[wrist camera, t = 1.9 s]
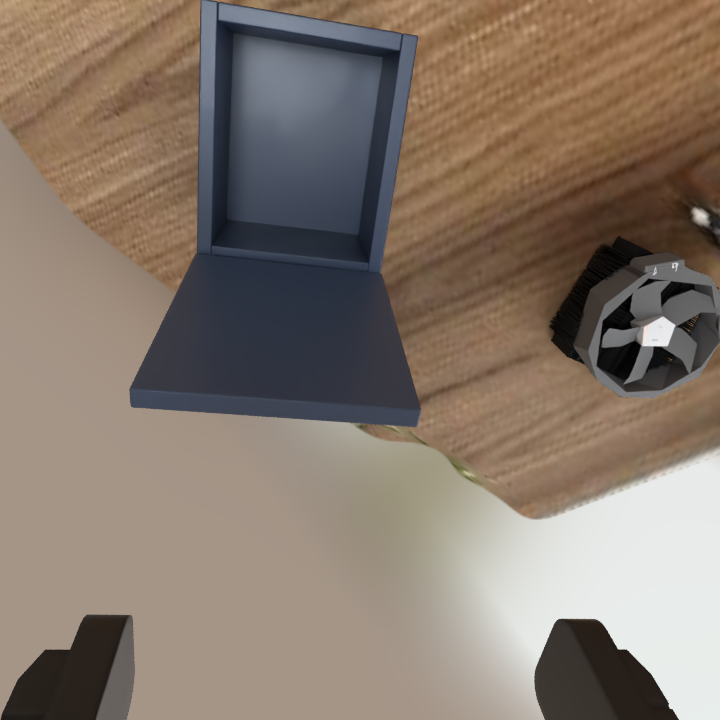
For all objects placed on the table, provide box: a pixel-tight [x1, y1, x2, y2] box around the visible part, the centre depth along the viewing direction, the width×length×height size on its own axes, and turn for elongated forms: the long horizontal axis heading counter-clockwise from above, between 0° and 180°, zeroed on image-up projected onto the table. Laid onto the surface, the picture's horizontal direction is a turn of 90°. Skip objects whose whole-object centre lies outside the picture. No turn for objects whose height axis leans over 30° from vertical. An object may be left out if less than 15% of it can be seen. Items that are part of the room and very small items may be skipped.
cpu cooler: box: [549, 237, 720, 398], centre depth 42 cm, size 10×6×10 cm
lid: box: [130, 254, 421, 427], centre depth 26 cm, size 14×11×1 cm
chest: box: [197, 0, 418, 274], centre depth 33 cm, size 13×11×8 cm
